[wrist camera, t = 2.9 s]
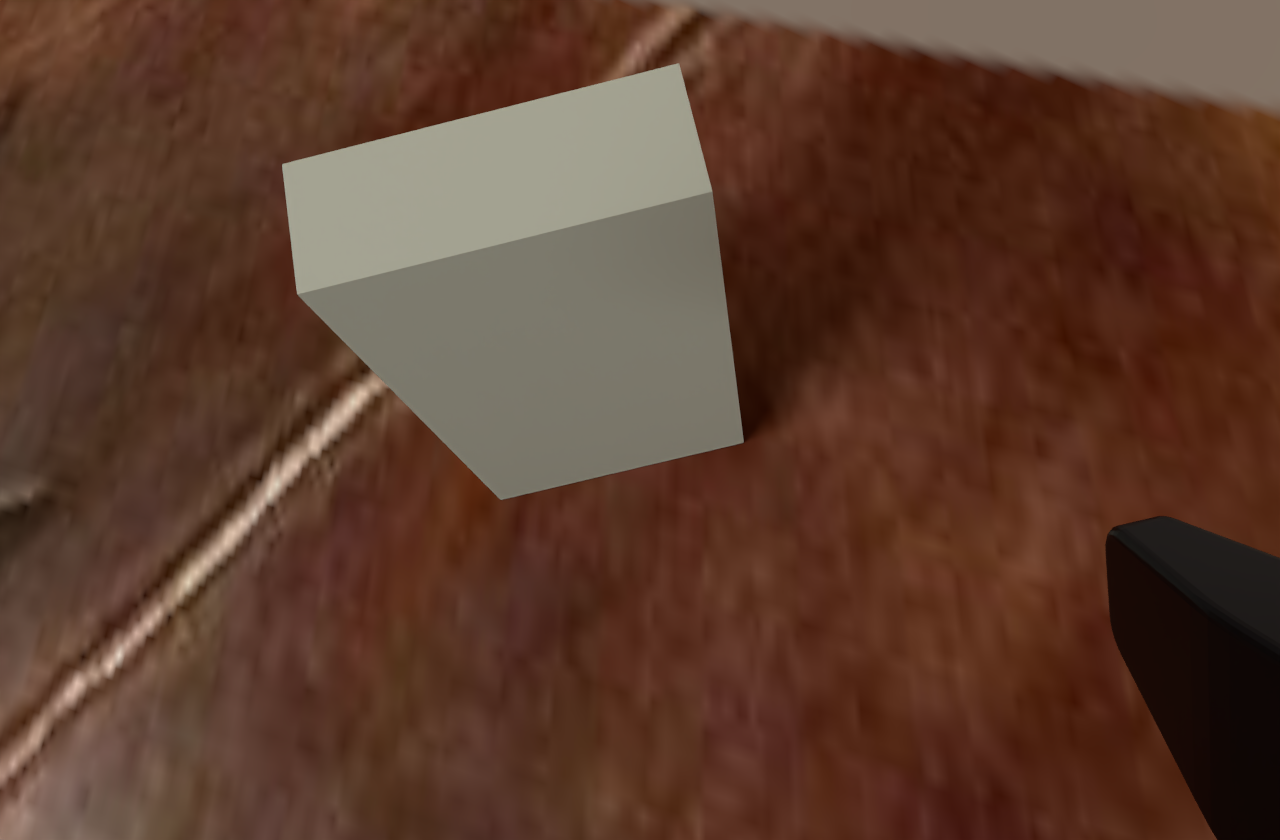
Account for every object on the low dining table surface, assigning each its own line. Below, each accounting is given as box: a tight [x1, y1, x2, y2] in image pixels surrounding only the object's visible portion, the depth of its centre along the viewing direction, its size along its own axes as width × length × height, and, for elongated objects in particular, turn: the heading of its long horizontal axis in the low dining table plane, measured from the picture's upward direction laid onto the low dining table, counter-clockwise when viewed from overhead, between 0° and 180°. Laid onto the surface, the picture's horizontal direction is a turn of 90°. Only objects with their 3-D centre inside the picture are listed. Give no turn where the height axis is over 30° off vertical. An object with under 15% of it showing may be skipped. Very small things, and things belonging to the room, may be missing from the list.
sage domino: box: [282, 64, 744, 500], centre depth 18 cm, size 2×5×10 cm, turn 102°
